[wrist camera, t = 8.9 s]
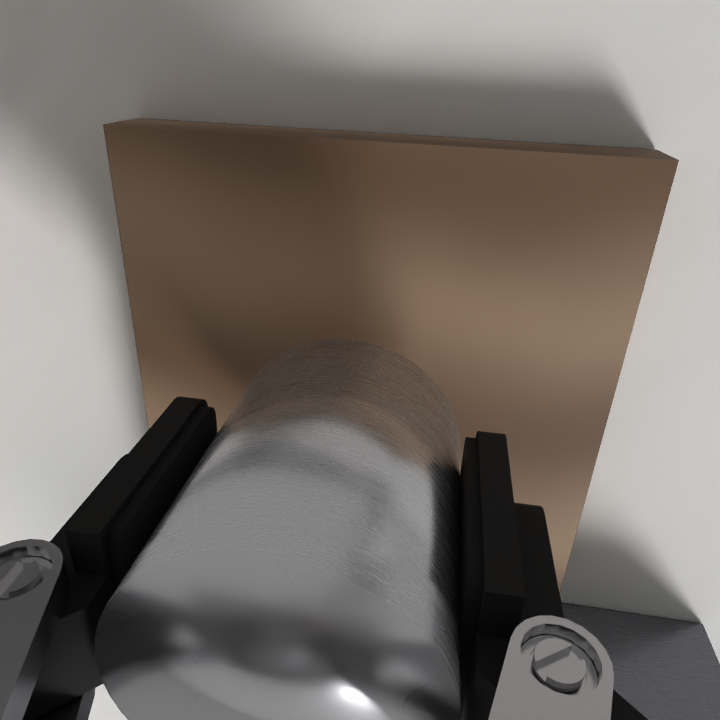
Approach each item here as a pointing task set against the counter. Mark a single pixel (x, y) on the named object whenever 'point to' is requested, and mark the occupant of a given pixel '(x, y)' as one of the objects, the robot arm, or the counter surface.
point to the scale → (657, 662)
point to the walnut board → (396, 273)
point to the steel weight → (303, 556)
